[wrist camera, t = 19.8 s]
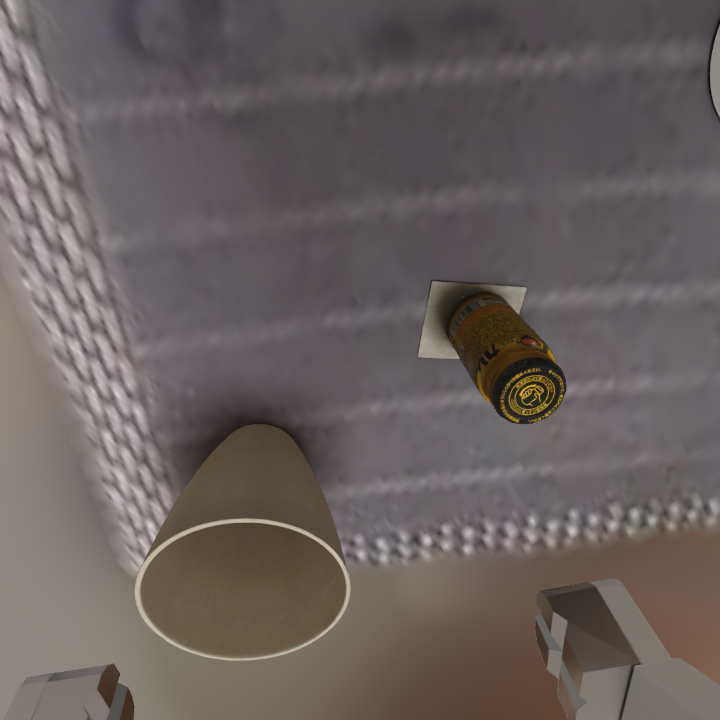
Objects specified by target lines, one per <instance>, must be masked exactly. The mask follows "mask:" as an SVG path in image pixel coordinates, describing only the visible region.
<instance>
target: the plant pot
mask: <svg viewBox="0 0 720 720" xmlns="http://www.w3.org/2000/svg"><path fill="white" fill-rule="evenodd" d="M350 591H351V587H350V579H349V575H348V571H347V567H346V563H345V559H344V556H343V552H342V548H341V545H340V541H339V538H338V534H337V531H336V528H335V524H334V521H333V518H332V515H331V513H330V510H329V507H328V505H327V502H326V500H325V497H324V495H323V492H322V490H321V488H320V486H319V483H318V481H317V479H316V477H315V475H314V473H313V471H312V469H311V467H310V465H309V464H308V462H307V460H306V458H305V457H304V455H303V453H302V452H301V450H300V449H299V447H298V446H297V444H296V443H295V441H294V440H293V439H292V437H291V436H290V435H288V434H287V433H286V432H285V431H283V430H282V429H280V428H277V427H275V426H271V425H266V424H252V425H247V426H244V427H241V428H239V429H237V430H235V431H234V432H233V433H231V434H230V435H229V436H228V437H227V438H226V439H225V440H224V441H223V442H222V443H221V444H220V445H219V446H218V447H217V448H216V449H215V450H214V451H213V452H212V453H211V455H210V456H209V457H208V458H207V459H206V461H205V462H204V463H203V464H202V465H201V467H200V468H199V469H198V471H197V472H196V473H195V475H194V476H193V477H192V479H191V480H190V482H189V483H188V484H187V486H186V487H185V489H184V490H183V492H182V493H181V495H180V496H179V498H178V500H177V501H176V503H175V504H174V506H173V507H172V509H171V511H170V513H169V514H168V516H167V518H166V520H165V522H164V523H163V525H162V527H161V529H160V531H159V533H158V535H157V536H156V538H155V540H154V542H153V544H152V546H151V548H150V550H149V552H148V554H147V556H146V558H145V560H144V562H143V564H142V566H141V568H140V570H139V572H138V575H137V578H136V583H135V599H136V604H137V607H138V610H139V612H140V614H141V616H142V617H143V619H144V621H145V622H146V623H147V624H148V626H149V627H150V628H151V629H152V630H153V631H154V632H155V633H157V634H158V635H159V636H161V637H162V638H164V639H165V640H166V641H167V642H169V643H171V644H173V645H175V646H177V647H178V648H181V649H183V650H185V651H188V652H191V653H194V654H197V655H200V656H204V657H208V658H215V659H221V660H238V661H239V660H257V659H264V658H270V657H275V656H279V655H283V654H286V653H289V652H292V651H295V650H297V649H300V648H302V647H304V646H306V645H308V644H310V643H312V642H313V641H315V640H317V639H318V638H320V637H321V636H323V635H324V634H325V633H326V632H328V631H329V630H330V629H331V628H332V627H333V626H334V625H335V624H336V623H337V622H338V620H339V619H340V618H341V616H342V615H343V613H344V611H345V609H346V607H347V604H348V601H349V597H350Z"/></svg>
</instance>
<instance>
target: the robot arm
mask: <svg viewBox="0 0 720 720" xmlns="http://www.w3.org/2000/svg"><path fill="white" fill-rule="evenodd" d="M710 85H711V93H712V98H713V102H714V105H715V108H716V111H717V113H718V115H719V117H720V26H719V28H718V32H717V35H716V38H715V42H714V46H713V51H712V57H711V66H710ZM537 605H538V607H539V609H540V612H541V613H540V614H539V615H538V616H537V617H536V618H535V632H536V638H537V644H538V647H539V650H540V653H541V656H542V658H543V661H544V663H545V666H546V668H547V670H548V671H549V672H551V673H552V674H553V675H555V676H556V677H557V678H558V679H559V683H558V692H557V694H558V697H559V699H560V701H561V703H562V706H563V708H564V710H565V713H566V715H567V717H568V720H720V685H719V684H718V683H716V682H714V681H713V680H712V679H710V678H709V677H707V676H706V675H704V674H703V673H701V672H699V671H698V670H697V669H695V668H694V667H692V666H691V665H689V664H688V663H686V662H685V661H683V660H682V659H680V658H676V659H671V657H670V656H669V654H668V653H667V651H666V650H665V648H664V647H663V645H662V644H661V642H660V641H659V639H658V637H657V636H656V634H655V633H654V631H653V630H652V628H651V627H650V625H649V624H648V622H647V621H646V619H645V618H644V616H643V615H642V613H641V611H640V610H639V608H638V607H637V605H636V604H635V602H634V601H633V599H632V598H631V596H630V595H629V593H628V592H627V590H626V589H625V587H624V586H623V584H622V583H621V582H620V581H618V580H617V579H613V578H612V579H606V580H601V581H596V582H591V583H588V582H586V583H580V584H575V585H570V586H565V587H559V588H554V589H548V590H543V591H540V592H539V593H538V595H537ZM119 677H120V672H119V671H118V670H117V668H116V666H115V665H114V664H108V665H102V666H96V667H89V668H83V669H77V670H70V671H64V672H55V673H49V674H44V675H38V676H32V677H27V678H26V679H25V681H24V682H23V683H22V684H21V686H19V688H18V690H17V692H16V694H15V696H14V698H13V701H12V703H11V705H10V707H9V709H8V711H7V714H6V716H5V718H4V720H134V702H133V697H132V694H131V692H130V690H129V689H128V687H126V686H124V685H121V684H119V683H118V680H119Z"/></svg>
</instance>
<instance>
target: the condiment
mask: <svg viewBox="0 0 720 720" xmlns="http://www.w3.org/2000/svg"><path fill="white" fill-rule="evenodd" d="M526 289H527V288H525V287H513V286H500V285H487V284H468V283H456V282H438V281H432V285H431V290H430V294H429V299H428V304H427V309H426V314H425V320H424V325H423V331H422V337H421V341H420V348H419V353H418V357H425V358H447V359H460V360H461V362H462V363H463V364H464V366H465V368H466V370H467V371H468V373H469V375H470V377H471V379H472V380H473V382H474V383H475V385H476V387H477V389H478V390H479V392H480V393H481V395H482V396H483V397H484V399H485V400H487V401H489V402H490V403H491V404H492V405H493V406H494V407H495V409H496V411H497V413H498V414H499V415H500V416H501V417H503V418H505V419H506V420H508V421H510V422H512V423H517V424H530V423H535V422H537V421H540V420H543V419H545V418H547V417H548V416H549V415H551V414H552V413H553V412H554V411H555V410H556V409H557V408H558V407H559V406H560V404H561V402H562V400H563V397H564V395H565V392H566V379H565V377H564V374H563V371H562V370H561V368H560V367H559V366H558V365H557V364H556V362H555V360H554V357H553V354H552V352H551V350H550V349H549V347H548V346H547V345H546V344H545V342H544V341H543V340H542V339H541V338H539V336H538V335H537V334H536V333H535V331H534V330H532V329H531V328H530V326H529V325H528V324H527V323H526V322H525V321H524V320H523V319H522V318H521V316H520V315H519V313H520V309H521V307H522V304H523V300H524V296H525V293H526ZM463 296H464V297H463ZM442 334H443V335H444V336H445V337H443V336H442ZM446 337H447V340H446V339H445V338H446Z"/></svg>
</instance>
